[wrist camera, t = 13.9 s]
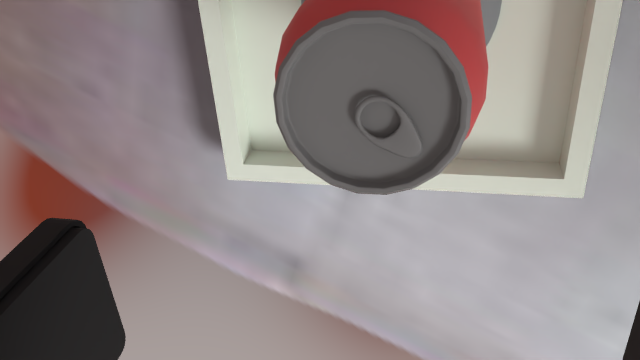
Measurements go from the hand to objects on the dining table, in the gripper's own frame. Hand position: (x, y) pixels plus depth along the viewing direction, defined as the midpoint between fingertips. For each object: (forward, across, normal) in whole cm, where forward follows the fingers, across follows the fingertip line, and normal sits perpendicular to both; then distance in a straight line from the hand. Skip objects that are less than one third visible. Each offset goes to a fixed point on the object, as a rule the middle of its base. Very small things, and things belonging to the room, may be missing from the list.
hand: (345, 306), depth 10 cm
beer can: (+20, +1, 0) cm, 20 cm away
